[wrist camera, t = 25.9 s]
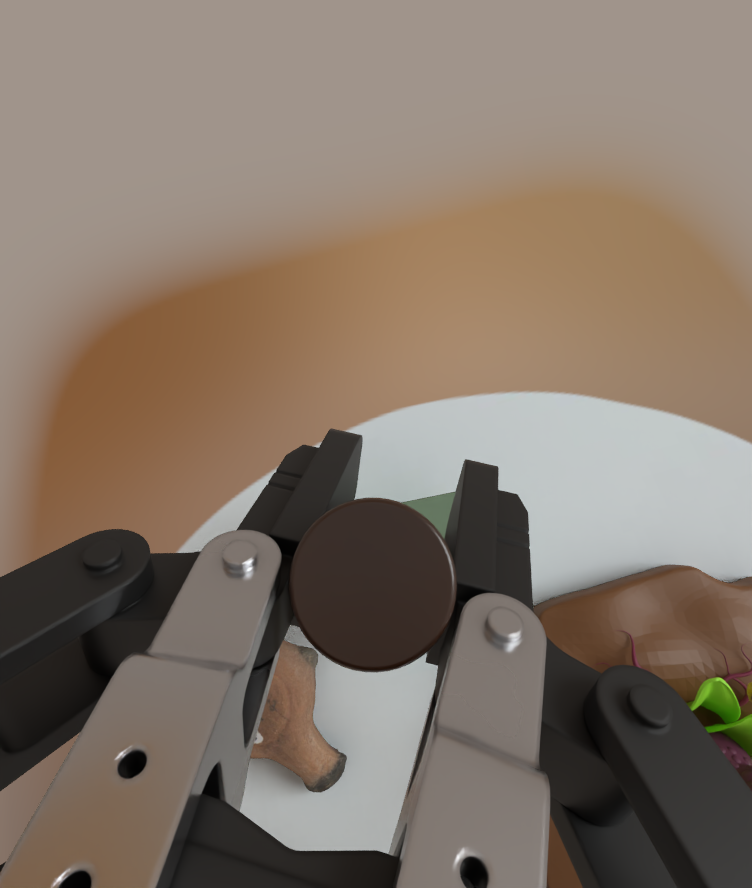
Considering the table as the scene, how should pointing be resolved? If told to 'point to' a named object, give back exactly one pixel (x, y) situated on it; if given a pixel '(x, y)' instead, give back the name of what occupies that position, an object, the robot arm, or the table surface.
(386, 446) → the table surface
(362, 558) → the brown cylindrical peg
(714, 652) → the plant
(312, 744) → the oil lamp
